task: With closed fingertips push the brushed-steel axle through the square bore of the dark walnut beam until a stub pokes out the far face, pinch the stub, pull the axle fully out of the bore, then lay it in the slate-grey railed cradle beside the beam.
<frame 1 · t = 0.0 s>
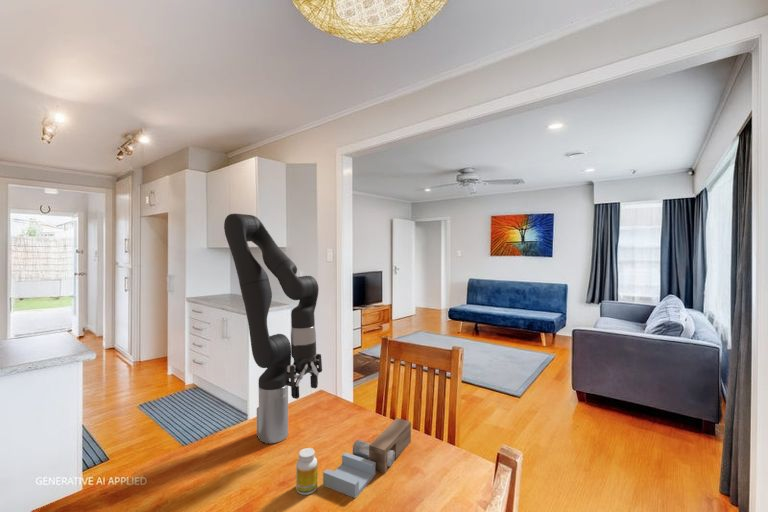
hand: (305, 392, 109), 17 cm above the table, tool pointing down, fingers open, 8 cm apart
axle: (373, 459, 103), on the table
beam: (384, 462, 102), on the table
cradle: (349, 479, 94), on the table
supplement bottle: (306, 489, 91), on the table
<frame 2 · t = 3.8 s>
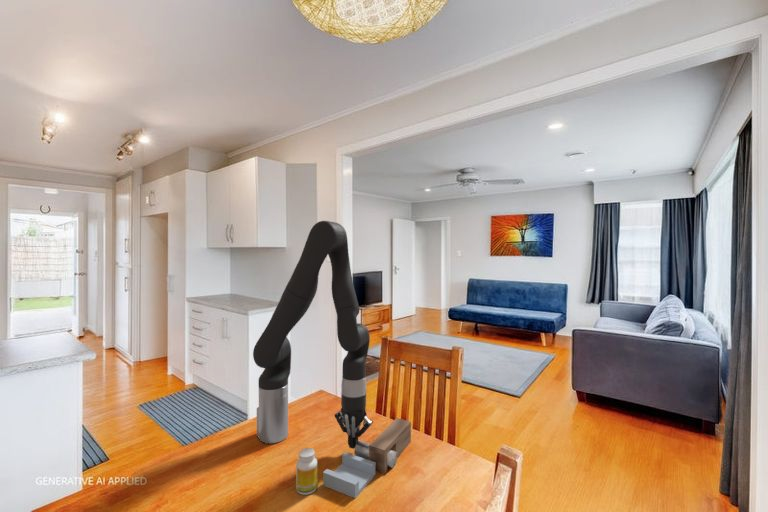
hand: (353, 446, 107), 2 cm above the table, tool pointing down, fingers closed
axle: (376, 460, 103), on the table, tilted 9°, touching gripper
everything else where it was.
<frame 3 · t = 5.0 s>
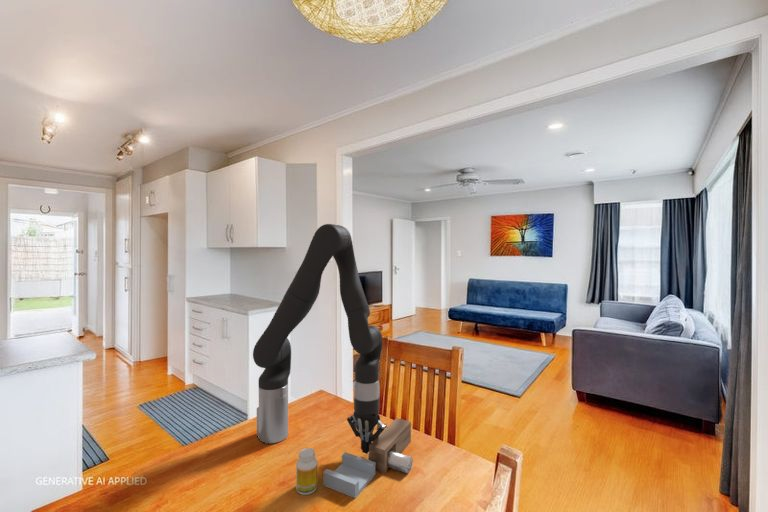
hand: (366, 451, 104), 1 cm above the table, tool pointing down, fingers closed
axle: (390, 465, 101), on the table, tilted 9°
everything else where it was.
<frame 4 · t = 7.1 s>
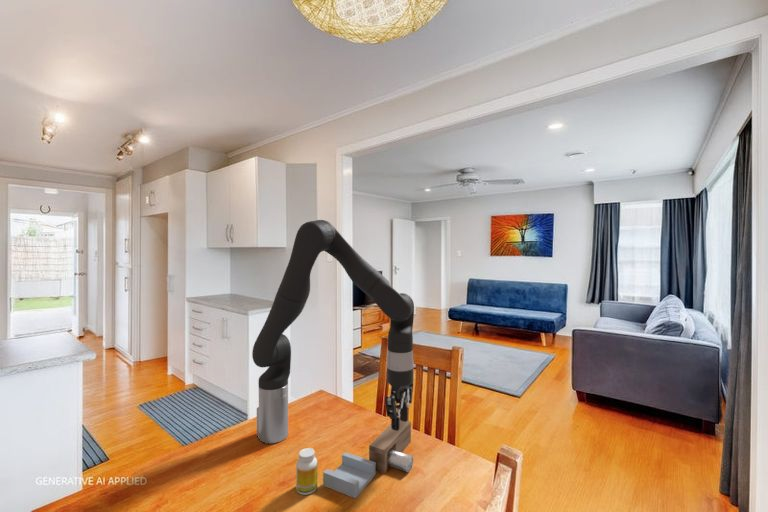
hand: (399, 424, 99), 12 cm above the table, tool pointing down, fingers open, 5 cm apart
nothing on the table moved.
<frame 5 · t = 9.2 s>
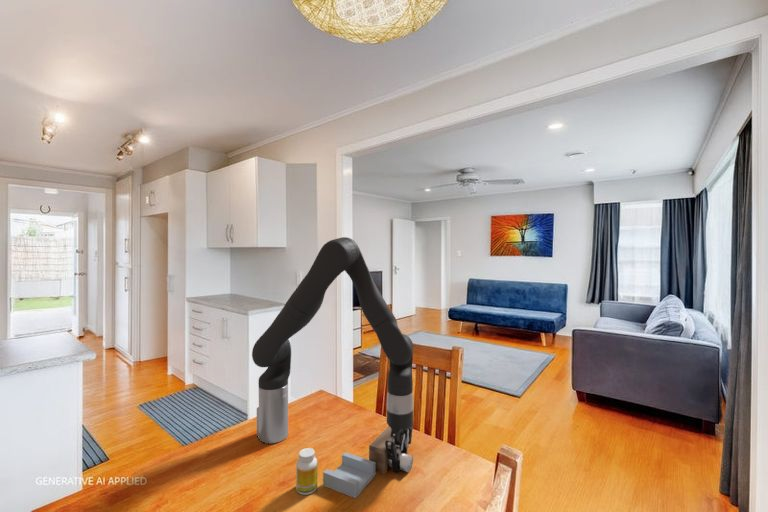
hand: (399, 466, 99), 0 cm above the table, tool pointing down, fingers closed on axle, 4 cm apart
axle: (390, 465, 101), on the table, touching gripper
everything else where it was.
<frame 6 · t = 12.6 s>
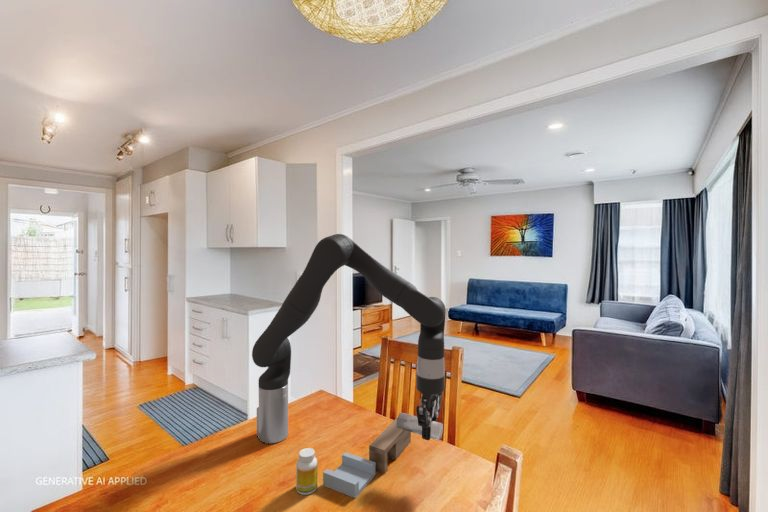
hand: (429, 434, 95), 12 cm above the table, tool pointing down, fingers closed on axle, 4 cm apart
axle: (419, 433, 96), point 11 cm above the table, touching gripper
everything else where it was.
when the fingers open (4 cm above the table, at t = 16.0 s): axle drops 2 cm, resting on cradle.
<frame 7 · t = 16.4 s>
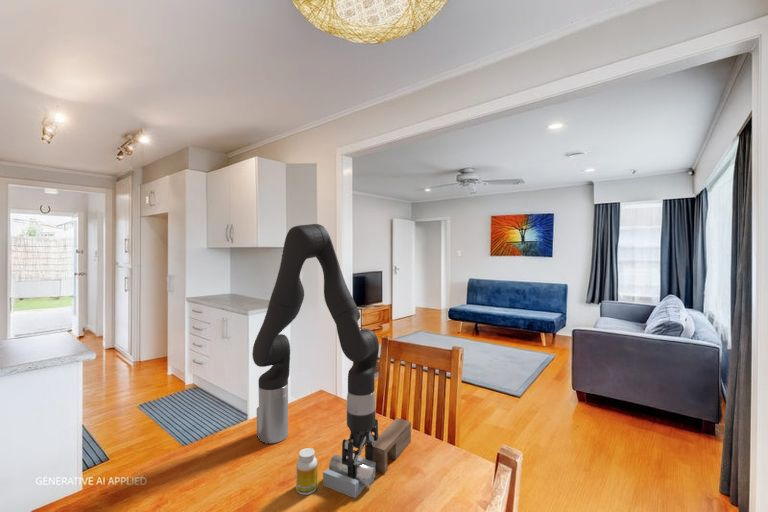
hand: (361, 468, 92), 4 cm above the table, tool pointing down, fingers open, 8 cm apart
axle: (351, 477, 94), point 1 cm above the table, touching cradle
everything else where it was.
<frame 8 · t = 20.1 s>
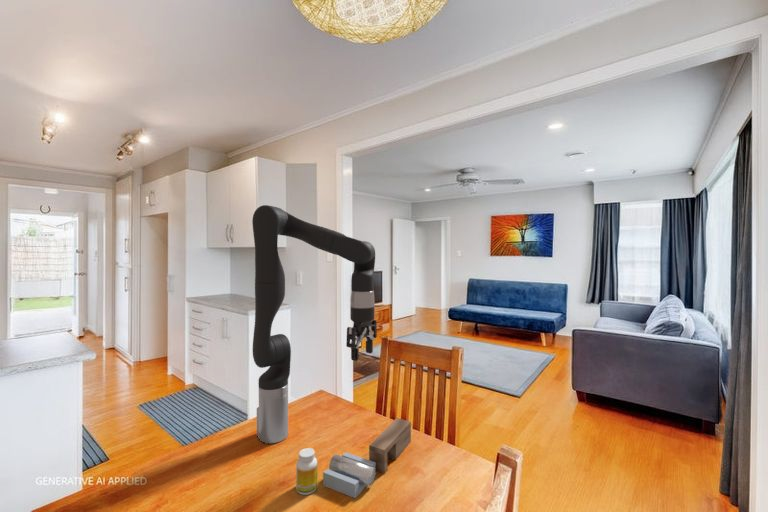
hand: (362, 356, 110), 28 cm above the table, tool pointing down, fingers open, 8 cm apart
nothing on the table moved.
at the end: axle inside the target area on the cradle (0.7 cm from its centre), point 1.0 cm above the cradle's base; the gripper is holding nothing; axle moved 11.2 cm from its start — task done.
